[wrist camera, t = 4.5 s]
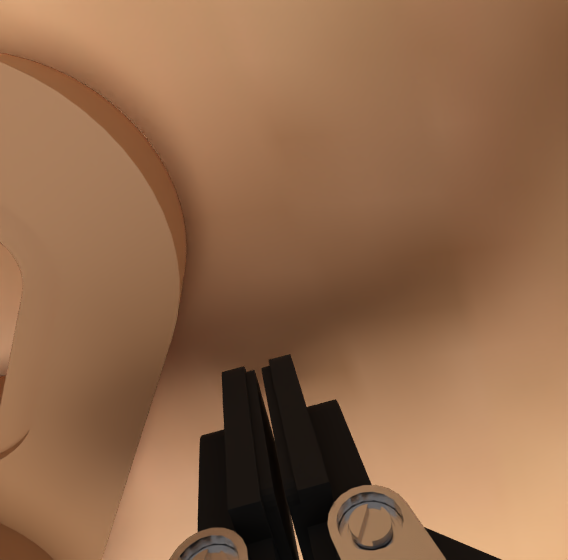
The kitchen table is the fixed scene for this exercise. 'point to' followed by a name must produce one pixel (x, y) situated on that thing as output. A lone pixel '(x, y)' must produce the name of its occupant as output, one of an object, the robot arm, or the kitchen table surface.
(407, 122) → the kitchen table surface
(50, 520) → the bracket
